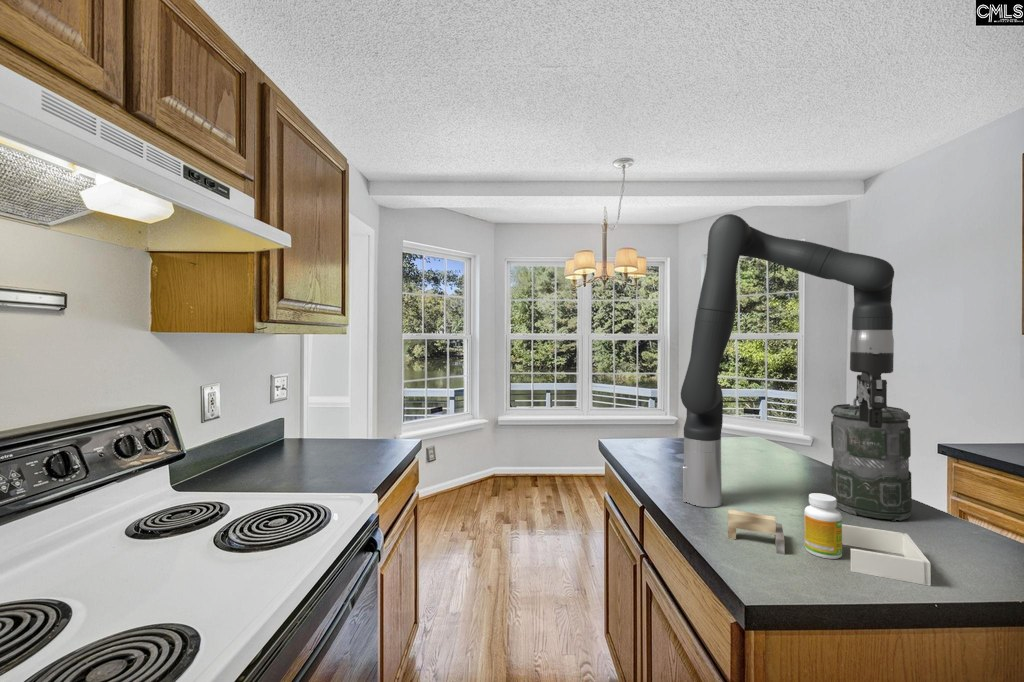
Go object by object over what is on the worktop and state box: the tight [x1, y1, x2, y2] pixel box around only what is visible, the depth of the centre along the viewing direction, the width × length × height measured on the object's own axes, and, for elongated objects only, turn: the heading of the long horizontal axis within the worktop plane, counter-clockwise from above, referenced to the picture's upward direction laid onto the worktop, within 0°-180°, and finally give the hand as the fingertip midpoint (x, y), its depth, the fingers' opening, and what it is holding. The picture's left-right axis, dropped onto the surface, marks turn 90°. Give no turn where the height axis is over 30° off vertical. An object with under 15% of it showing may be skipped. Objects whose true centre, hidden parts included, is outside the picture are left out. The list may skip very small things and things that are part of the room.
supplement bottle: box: [804, 492, 843, 560], centre depth 92 cm, size 6×6×11 cm
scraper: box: [727, 509, 786, 555], centre depth 98 cm, size 10×9×6 cm
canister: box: [830, 397, 913, 522], centre depth 115 cm, size 16×16×28 cm
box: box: [842, 523, 932, 587], centre depth 88 cm, size 11×14×4 cm
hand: (870, 424), depth 101 cm, fingers open, 8 cm apart
